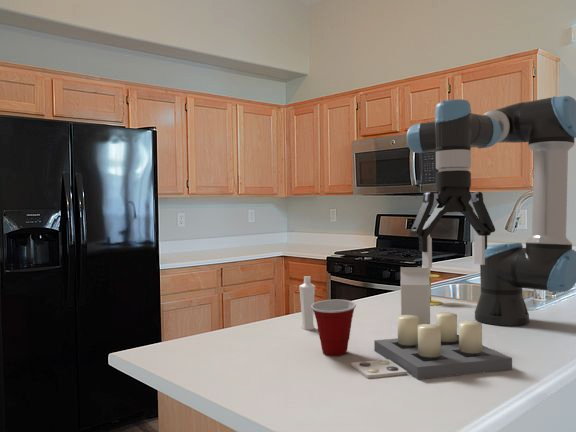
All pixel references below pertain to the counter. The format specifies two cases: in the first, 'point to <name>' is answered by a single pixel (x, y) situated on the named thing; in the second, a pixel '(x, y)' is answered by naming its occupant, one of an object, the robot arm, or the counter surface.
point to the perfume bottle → (307, 303)
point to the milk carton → (415, 293)
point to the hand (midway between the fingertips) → (453, 265)
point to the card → (378, 368)
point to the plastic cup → (334, 324)
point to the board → (442, 359)
